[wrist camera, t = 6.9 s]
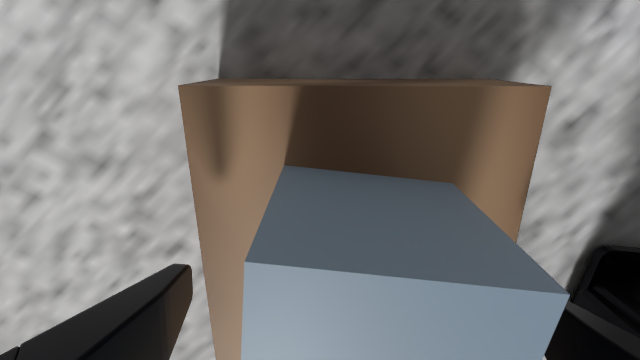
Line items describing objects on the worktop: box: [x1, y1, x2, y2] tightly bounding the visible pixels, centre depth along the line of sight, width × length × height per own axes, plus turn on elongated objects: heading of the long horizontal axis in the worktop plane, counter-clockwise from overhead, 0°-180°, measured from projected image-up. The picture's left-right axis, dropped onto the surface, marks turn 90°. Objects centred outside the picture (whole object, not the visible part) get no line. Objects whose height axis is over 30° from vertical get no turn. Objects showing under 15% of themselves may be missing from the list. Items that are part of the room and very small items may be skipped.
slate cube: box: [241, 165, 570, 360], centre depth 8 cm, size 5×5×5 cm
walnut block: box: [178, 79, 552, 360], centre depth 12 cm, size 10×10×4 cm
